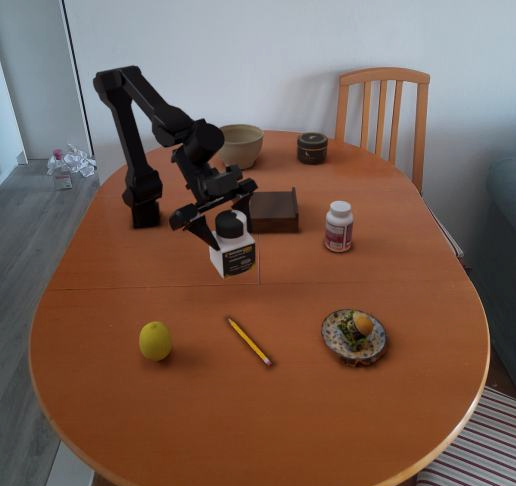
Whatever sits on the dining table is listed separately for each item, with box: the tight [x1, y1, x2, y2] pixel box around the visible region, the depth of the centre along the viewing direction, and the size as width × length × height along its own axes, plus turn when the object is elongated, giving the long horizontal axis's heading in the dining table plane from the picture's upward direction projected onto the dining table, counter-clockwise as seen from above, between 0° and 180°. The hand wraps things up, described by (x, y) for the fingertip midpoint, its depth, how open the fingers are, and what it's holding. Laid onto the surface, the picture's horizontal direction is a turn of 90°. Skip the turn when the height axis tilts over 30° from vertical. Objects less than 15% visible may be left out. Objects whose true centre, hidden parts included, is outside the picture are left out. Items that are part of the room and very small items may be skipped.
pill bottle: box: [324, 200, 354, 253], centre depth 104 cm, size 6×6×11 cm
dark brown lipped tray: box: [249, 186, 300, 234], centre depth 115 cm, size 12×13×6 cm
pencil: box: [228, 318, 273, 367], centre depth 82 cm, size 1×13×1 cm, turn 36°
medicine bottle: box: [208, 209, 257, 281], centre depth 88 cm, size 7×7×12 cm
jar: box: [296, 131, 329, 165], centre depth 146 cm, size 10×10×8 cm
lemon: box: [138, 321, 173, 362], centre depth 77 cm, size 6×6×8 cm
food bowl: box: [320, 308, 388, 367], centre depth 80 cm, size 12×12×8 cm
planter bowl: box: [216, 123, 265, 170], centre depth 143 cm, size 16×16×11 cm
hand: (235, 241), depth 86 cm, fingers closed on medicine bottle, 8 cm apart
